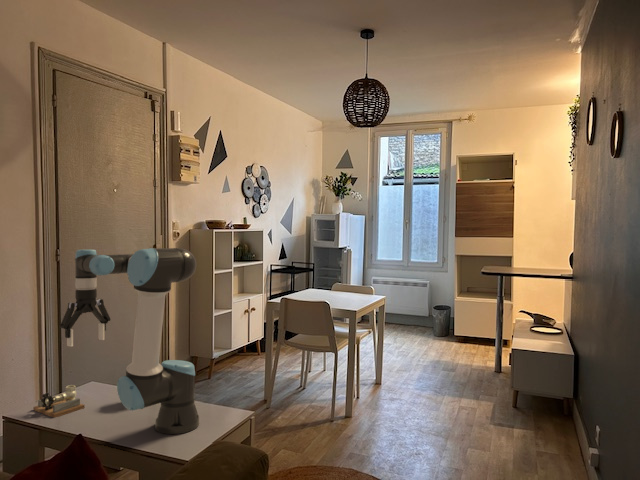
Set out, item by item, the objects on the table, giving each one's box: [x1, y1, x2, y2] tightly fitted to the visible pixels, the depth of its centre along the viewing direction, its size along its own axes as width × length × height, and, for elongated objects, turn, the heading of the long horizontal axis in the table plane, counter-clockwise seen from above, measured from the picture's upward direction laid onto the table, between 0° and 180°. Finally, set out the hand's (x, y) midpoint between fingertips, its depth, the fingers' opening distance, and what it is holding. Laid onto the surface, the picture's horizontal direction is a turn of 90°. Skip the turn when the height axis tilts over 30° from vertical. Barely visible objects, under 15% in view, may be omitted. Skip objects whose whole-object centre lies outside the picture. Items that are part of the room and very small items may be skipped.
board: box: [33, 393, 85, 419], centre depth 188 cm, size 14×12×4 cm
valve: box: [40, 384, 77, 411], centre depth 188 cm, size 7×7×12 cm
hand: (86, 342), depth 191 cm, fingers open, 13 cm apart
